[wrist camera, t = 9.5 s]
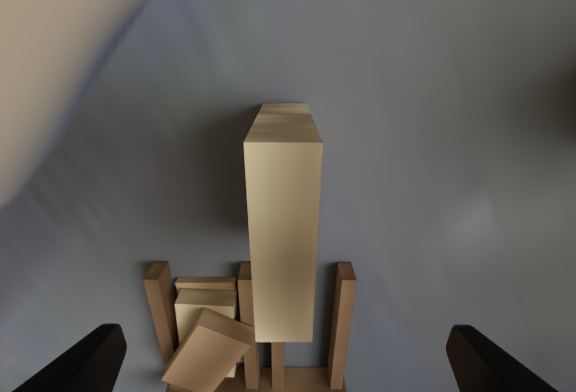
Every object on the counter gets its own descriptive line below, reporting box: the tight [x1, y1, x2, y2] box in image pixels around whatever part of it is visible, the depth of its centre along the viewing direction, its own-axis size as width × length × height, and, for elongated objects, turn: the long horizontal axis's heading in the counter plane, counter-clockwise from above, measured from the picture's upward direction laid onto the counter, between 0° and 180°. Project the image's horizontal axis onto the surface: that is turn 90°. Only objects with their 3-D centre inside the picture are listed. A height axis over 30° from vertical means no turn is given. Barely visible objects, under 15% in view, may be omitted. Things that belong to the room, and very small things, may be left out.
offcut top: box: [161, 308, 253, 392], centre depth 22 cm, size 4×7×2 cm, turn 149°
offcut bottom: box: [175, 277, 244, 362], centre depth 25 cm, size 4×9×2 cm, turn 0°
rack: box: [143, 262, 357, 392], centre depth 22 cm, size 16×13×6 cm
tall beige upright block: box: [244, 103, 323, 342], centre depth 15 cm, size 2×9×9 cm, turn 0°
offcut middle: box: [175, 289, 237, 377], centre depth 24 cm, size 4×8×2 cm, turn 176°
